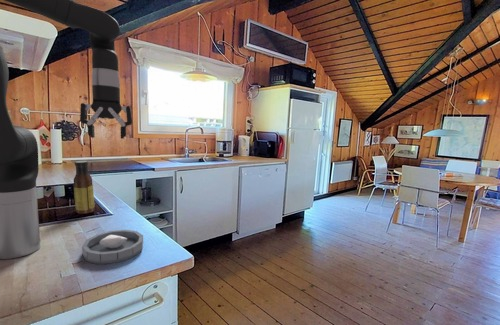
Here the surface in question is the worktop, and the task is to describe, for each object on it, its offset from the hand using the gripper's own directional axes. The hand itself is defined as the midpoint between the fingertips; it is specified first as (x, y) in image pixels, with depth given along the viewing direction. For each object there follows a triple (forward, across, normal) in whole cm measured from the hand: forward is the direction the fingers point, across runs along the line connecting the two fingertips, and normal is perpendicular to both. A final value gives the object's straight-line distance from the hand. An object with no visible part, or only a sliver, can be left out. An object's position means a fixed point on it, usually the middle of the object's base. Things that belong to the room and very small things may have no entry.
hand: (107, 138), depth 83 cm
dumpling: (+30, +4, -17) cm, 34 cm away
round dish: (+30, +4, -17) cm, 35 cm away
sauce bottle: (+30, -12, +18) cm, 37 cm away
